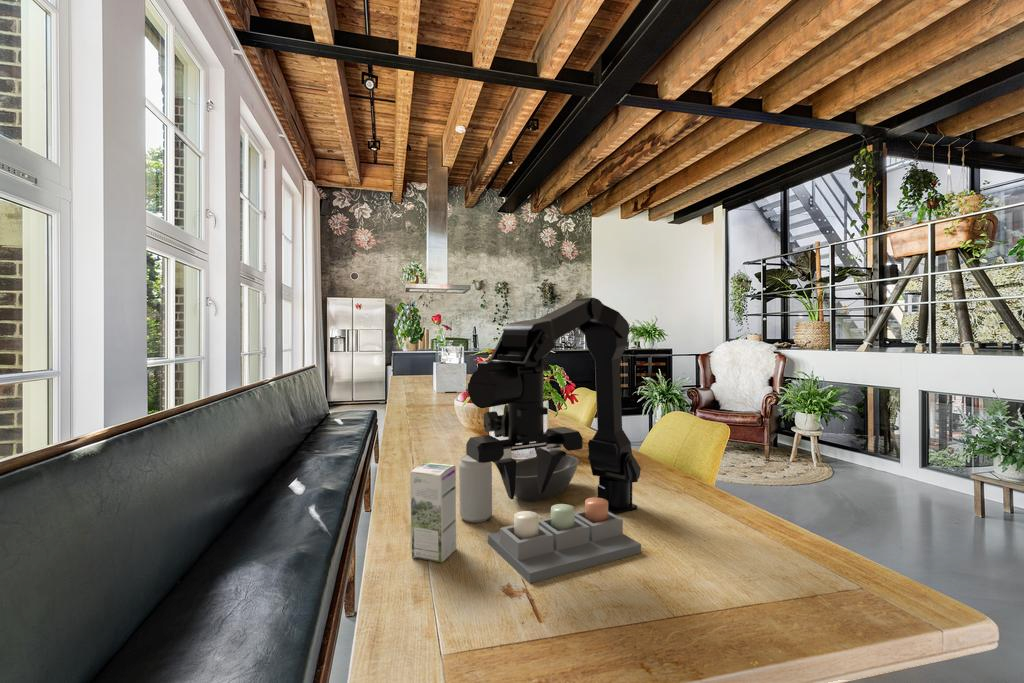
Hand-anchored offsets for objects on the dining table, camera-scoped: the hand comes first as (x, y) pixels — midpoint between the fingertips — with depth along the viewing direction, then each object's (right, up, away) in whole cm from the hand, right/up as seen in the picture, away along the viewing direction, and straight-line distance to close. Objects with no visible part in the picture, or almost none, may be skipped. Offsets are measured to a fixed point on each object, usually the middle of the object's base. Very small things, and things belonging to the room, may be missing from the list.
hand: (526, 495), depth 80 cm
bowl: (+4, -9, +32) cm, 33 cm away
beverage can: (-9, -10, +17) cm, 21 cm away
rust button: (+13, -6, +6) cm, 15 cm away
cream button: (0, -6, 0) cm, 6 cm away
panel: (+6, -10, +3) cm, 12 cm away
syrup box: (-15, -10, +2) cm, 18 cm away
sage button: (+6, -6, +3) cm, 9 cm away
